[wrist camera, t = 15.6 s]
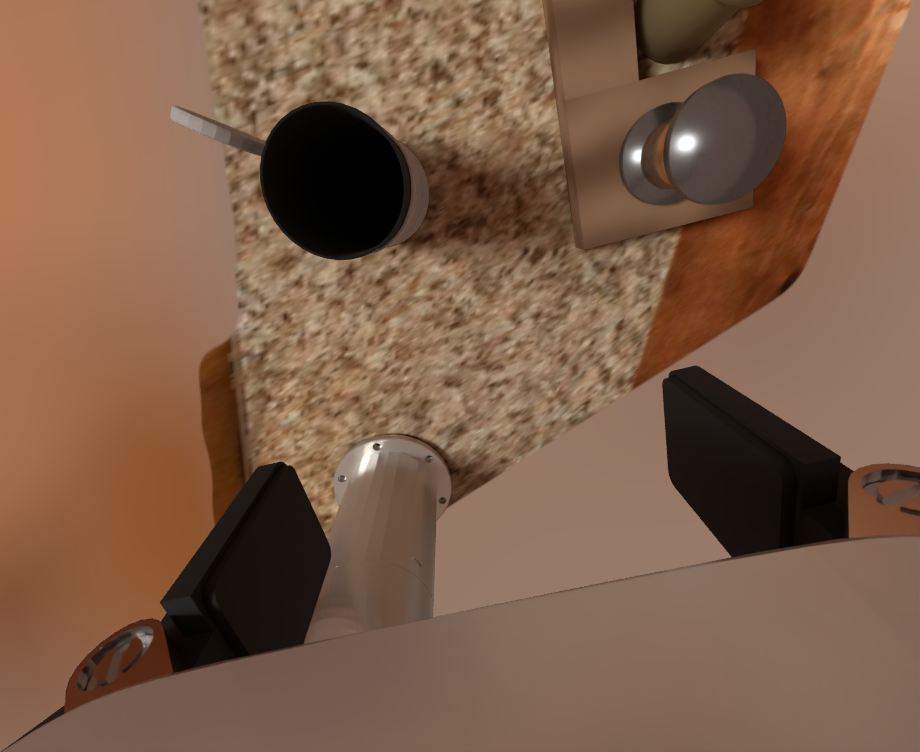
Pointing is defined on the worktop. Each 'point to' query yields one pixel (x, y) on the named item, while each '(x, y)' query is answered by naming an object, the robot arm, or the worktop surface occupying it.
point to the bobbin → (705, 144)
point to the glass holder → (331, 178)
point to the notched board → (616, 117)
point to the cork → (680, 25)
